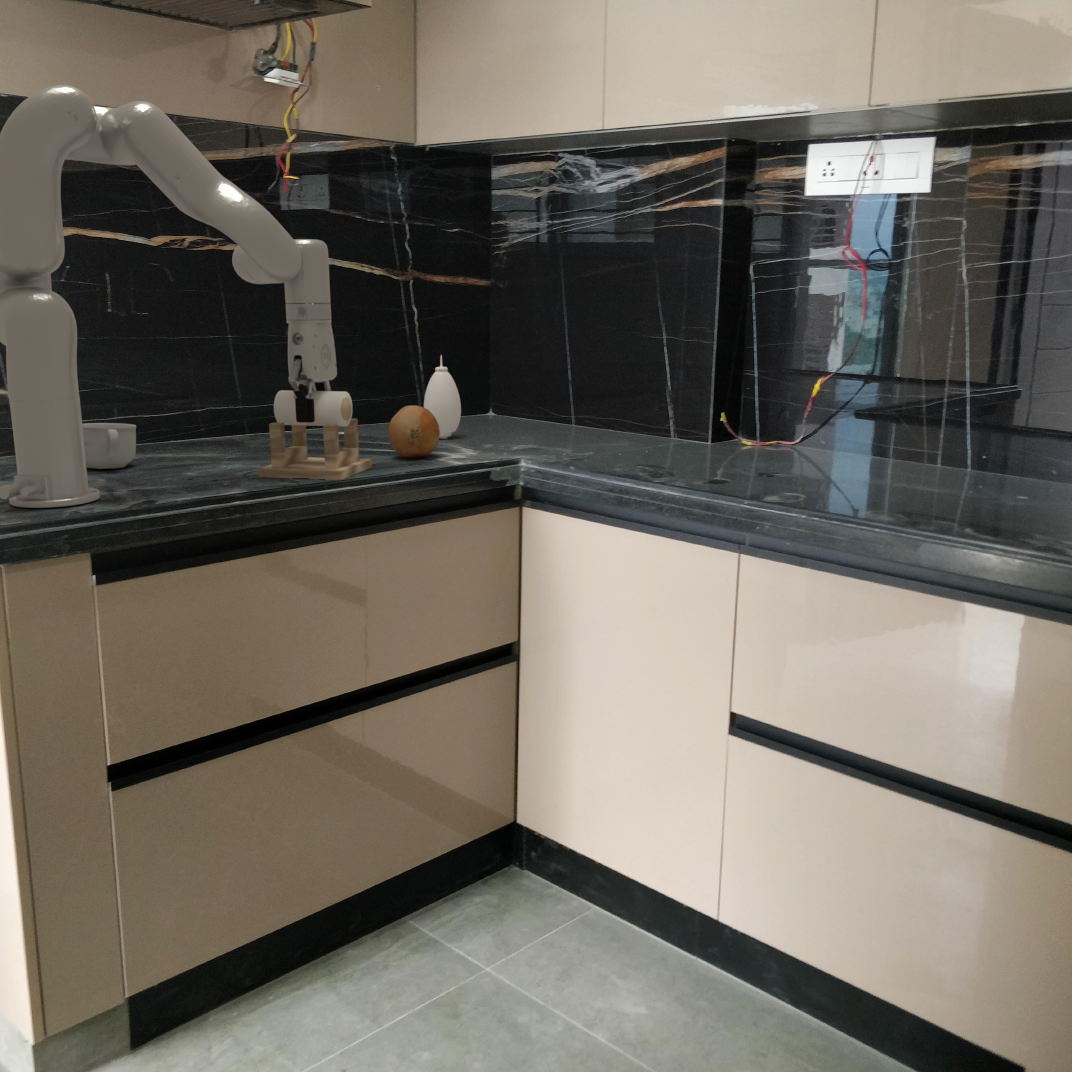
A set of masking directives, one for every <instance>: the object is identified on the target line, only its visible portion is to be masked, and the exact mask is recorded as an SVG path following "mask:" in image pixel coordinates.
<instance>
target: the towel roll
mask: <svg viewBox="0 0 1072 1072" xmlns="http://www.w3.org/2000/svg"><path fill="white" fill-rule="evenodd" d="M311 399H314V416H315V421H314V422H312V423H307V422H297V421H296V407H295V399H294V392H293V390H285V389H284V390H283V389H281V390H279V391H278V392H277V393H276V395H275V396H274V400H273V415H274V418H275V421H276V423H284V426H292V425H306V427H307V426H310V427H311V426H312V427H313V426H314V427H315V426H317V427H319V426H320V427H323V425H325V424H338V427H344V426H348V425H349V423H350V421H351V419H353V412H354V411H353V409H354V408H353V401H352V397H351V395H350V393H349V392H348V391H341V390H340V391H339V390H336V391H335V390H333V391H332V390H331V391H314V390H312V395H311Z"/></svg>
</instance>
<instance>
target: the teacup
mask: <svg viewBox="0 0 1072 1072" xmlns="http://www.w3.org/2000/svg"><path fill="white" fill-rule="evenodd" d="M82 427H83V437H84V448H85V458H86V468H89V469H97V470H102V469H105V470H107V469H108V470H110V469H120V468H121V469H122V468H125V467H127V466H128V464H129V463H131V462H132V461H133V460H134V458H135V456H136V451H137V430H136V429H137V425H136V424H131V423H116V422H114V423H113V422H112V423H111V422H110V423H109V422H94V423H93V422H92V423H91V422H90V423H89V422H87V423H86V422H85V423H82Z"/></svg>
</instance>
